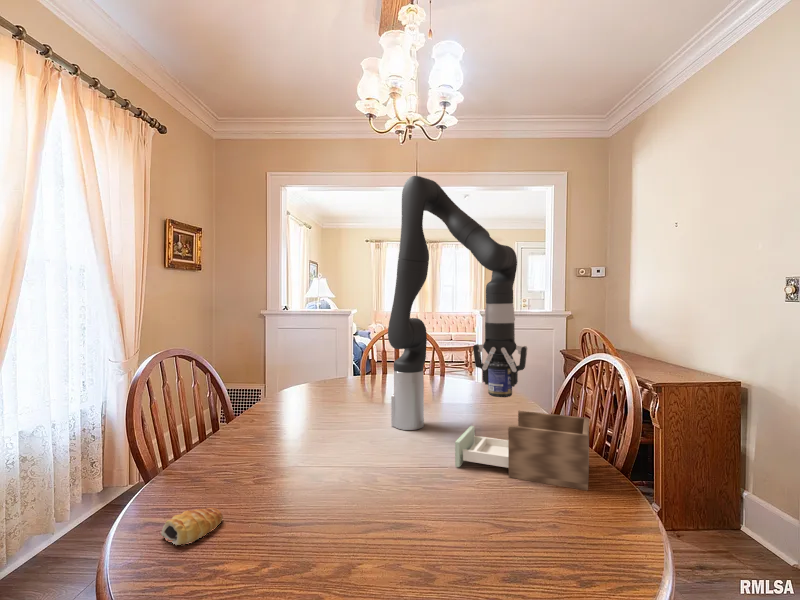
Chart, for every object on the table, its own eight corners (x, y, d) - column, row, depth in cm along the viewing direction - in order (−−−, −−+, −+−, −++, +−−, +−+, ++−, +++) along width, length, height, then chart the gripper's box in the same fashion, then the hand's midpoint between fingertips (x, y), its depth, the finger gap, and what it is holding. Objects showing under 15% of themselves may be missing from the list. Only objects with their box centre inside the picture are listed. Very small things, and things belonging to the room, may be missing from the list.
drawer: (455, 466, 99) (455, 442, 99) (470, 447, 111) (470, 425, 111) (525, 478, 92) (525, 452, 92) (533, 456, 104) (533, 433, 104)
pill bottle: (513, 398, 107) (512, 354, 107) (488, 397, 108) (488, 354, 108) (511, 392, 113) (510, 351, 113) (487, 392, 114) (487, 351, 114)
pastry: (208, 515, 78) (208, 494, 78) (232, 525, 75) (231, 503, 75) (157, 540, 70) (157, 517, 70) (181, 552, 67) (180, 528, 67)
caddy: (508, 477, 93) (508, 426, 93) (519, 455, 106) (518, 410, 106) (587, 490, 87) (587, 436, 86) (589, 465, 99) (588, 418, 99)
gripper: (468, 321, 110) (469, 385, 110) (526, 322, 104) (526, 390, 104) (475, 319, 117) (476, 380, 117) (529, 320, 111) (530, 384, 111)
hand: (500, 384), depth 111 cm, fingers closed on pill bottle, 6 cm apart
